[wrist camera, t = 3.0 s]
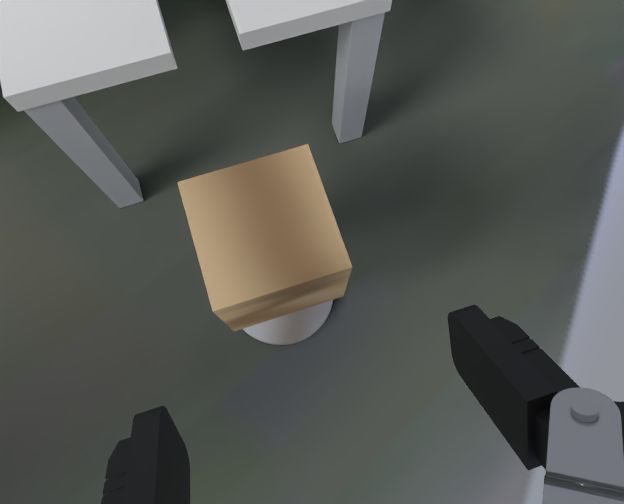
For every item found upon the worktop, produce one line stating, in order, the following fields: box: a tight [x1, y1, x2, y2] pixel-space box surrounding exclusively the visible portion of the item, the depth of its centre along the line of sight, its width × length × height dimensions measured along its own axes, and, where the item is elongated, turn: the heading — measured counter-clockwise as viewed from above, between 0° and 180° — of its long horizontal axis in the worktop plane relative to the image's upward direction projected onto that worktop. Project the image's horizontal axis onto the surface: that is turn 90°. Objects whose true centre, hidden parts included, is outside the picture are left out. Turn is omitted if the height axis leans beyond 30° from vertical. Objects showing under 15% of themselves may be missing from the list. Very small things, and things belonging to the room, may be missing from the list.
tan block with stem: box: [177, 144, 352, 346], centre depth 24 cm, size 6×6×12 cm
